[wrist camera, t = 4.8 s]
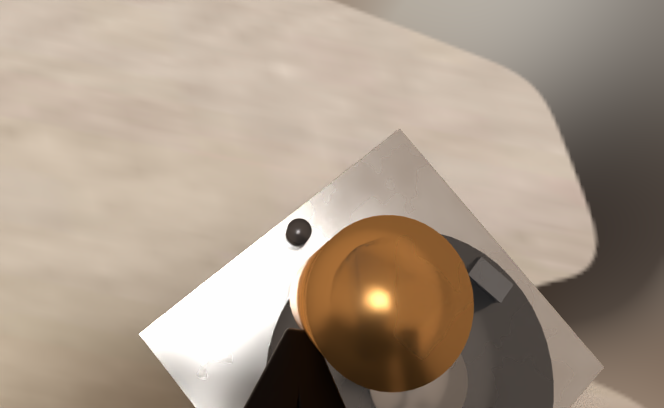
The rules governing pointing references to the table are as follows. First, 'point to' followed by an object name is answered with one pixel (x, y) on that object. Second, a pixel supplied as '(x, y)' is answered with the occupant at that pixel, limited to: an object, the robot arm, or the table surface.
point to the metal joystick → (418, 321)
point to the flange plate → (297, 246)
